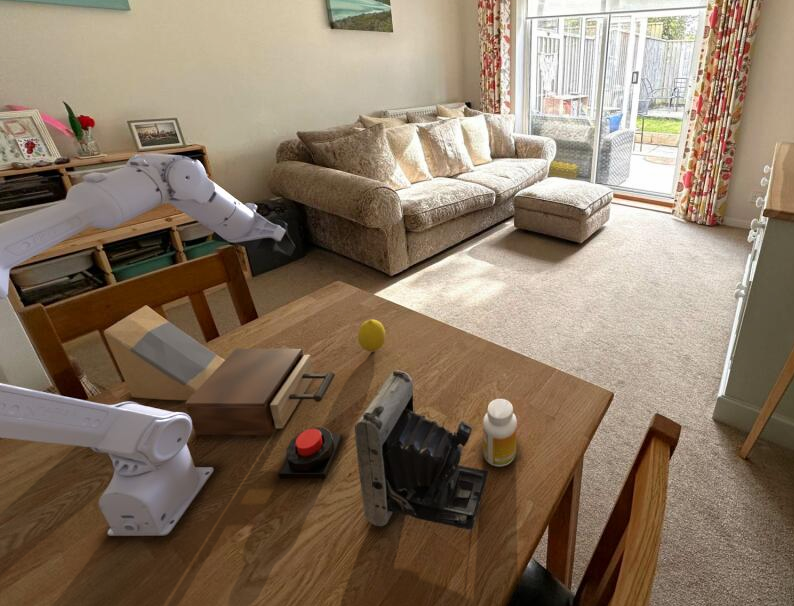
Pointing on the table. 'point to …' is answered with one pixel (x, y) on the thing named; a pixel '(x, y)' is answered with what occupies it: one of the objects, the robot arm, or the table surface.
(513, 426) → the supplement bottle
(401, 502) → the vintage camera
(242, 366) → the wooden drawer cabinet
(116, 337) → the sandwich container
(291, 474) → the black button housing
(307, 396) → the wooden drawer
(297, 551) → the table surface
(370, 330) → the lemon
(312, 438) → the release button
